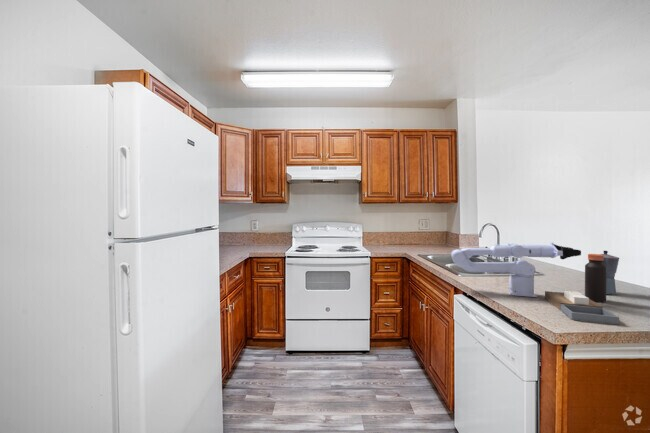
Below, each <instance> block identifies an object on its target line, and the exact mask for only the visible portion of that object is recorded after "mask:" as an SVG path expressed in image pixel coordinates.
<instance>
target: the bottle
mask: <svg viewBox="0 0 650 433" xmlns="http://www.w3.org/2000/svg"><path fill="white" fill-rule="evenodd" d="M600 254H601V253H600ZM600 254H599V253H588V254H587V260H588V262H587V263H586V264H585V265H584V296H586V297H588V298H589V299H591V300H592V301H594V302H596V303H606V302H607V294H606V279H607V267H606V266H605V265H604V264H603V260H604V255H600Z"/></svg>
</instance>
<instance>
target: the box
mask: <svg viewBox="0 0 650 433" xmlns="http://www.w3.org/2000/svg"><path fill="white" fill-rule="evenodd" d="M560 312H562V313H563V314H564V315H565V316H566V317H568V318H569V319H570V320H571V321H572V320H573V321H580V322H590V323H591V322H592V323H598V324H599V323H600V324H609V325H618V326H619V324H620V317H619V316H617V315H616V314H615V313H613V312H611V311H609V310H607V309H606V308H604V307H603V308H598V307H586V306H575V305H564V304H561V310H560Z"/></svg>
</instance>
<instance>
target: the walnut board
mask: <svg viewBox="0 0 650 433" xmlns="http://www.w3.org/2000/svg"><path fill="white" fill-rule="evenodd" d="M544 299H546V300H547V301H548V302H549V303H550V304H552V305H553V306H554V307H556V308H557V309H558V310H560V311H561V304H564V305H575V306H586V307H598V308H604V306H603V305H601V304H600V303H598V302H594V301H592V300H591V299H589V305H586V304H575V303H573V302H571V301H570V300H569V299H567V298H566V297H564V292H561V291H559V292H558V291H550V290H549V291H546V290H545V291H544Z"/></svg>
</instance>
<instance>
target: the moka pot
mask: <svg viewBox="0 0 650 433" xmlns="http://www.w3.org/2000/svg"><path fill="white" fill-rule="evenodd" d="M608 253H609V251H608V250H603V253H600V255H604V260H603V264H604V265H605V266H606V267H607V279H606V295H611V296H612V295H613V296H614V295H617V289H616V280H615V277H616V274H617V270H618V266H619V262H620V257H618V256H616V255H615V256H614V255H611V254H608Z"/></svg>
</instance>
